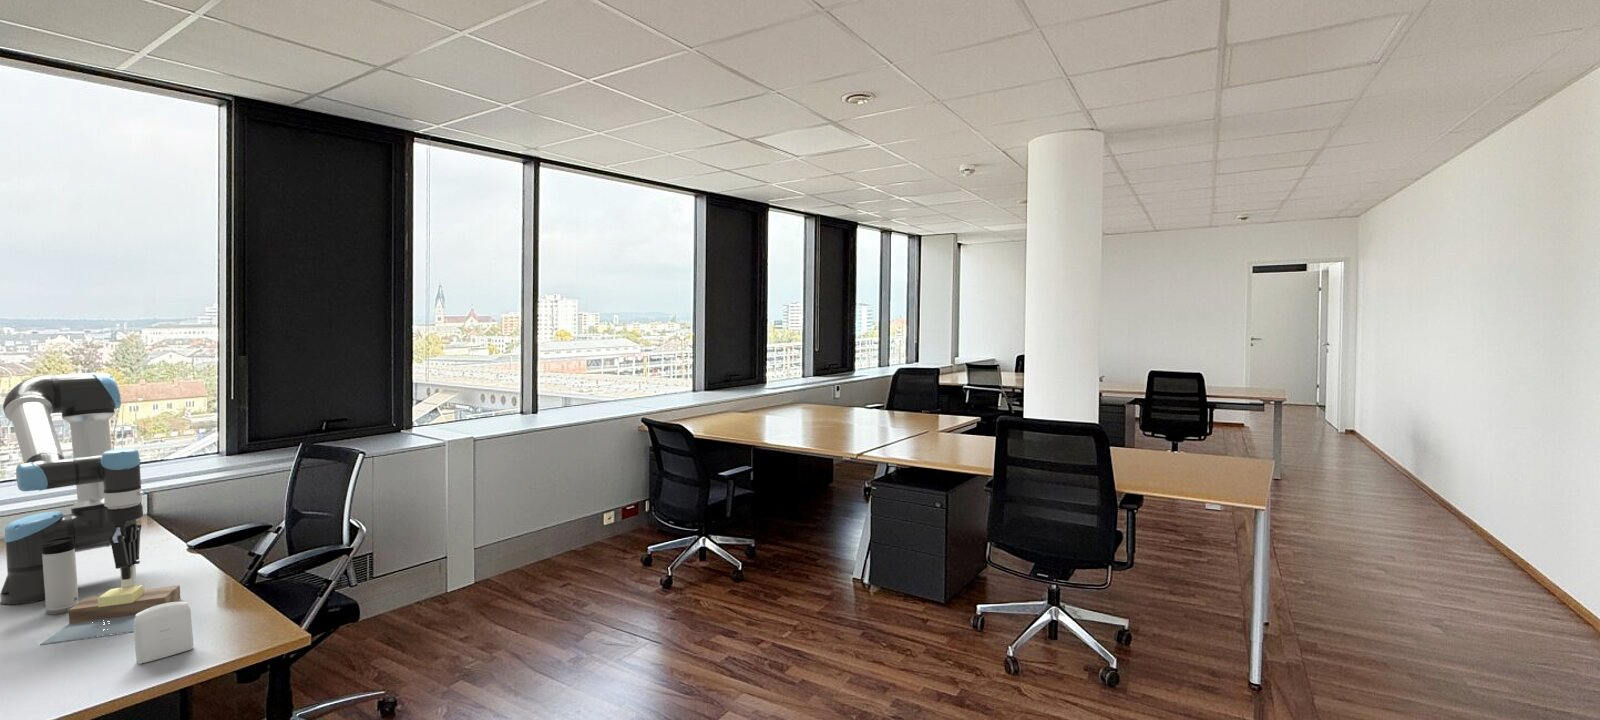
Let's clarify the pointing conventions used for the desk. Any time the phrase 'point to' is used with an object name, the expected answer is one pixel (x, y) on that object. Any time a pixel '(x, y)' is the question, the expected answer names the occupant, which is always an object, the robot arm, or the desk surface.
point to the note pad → (120, 596)
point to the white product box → (163, 631)
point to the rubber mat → (92, 629)
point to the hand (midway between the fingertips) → (129, 589)
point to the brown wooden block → (122, 605)
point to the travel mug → (60, 575)
